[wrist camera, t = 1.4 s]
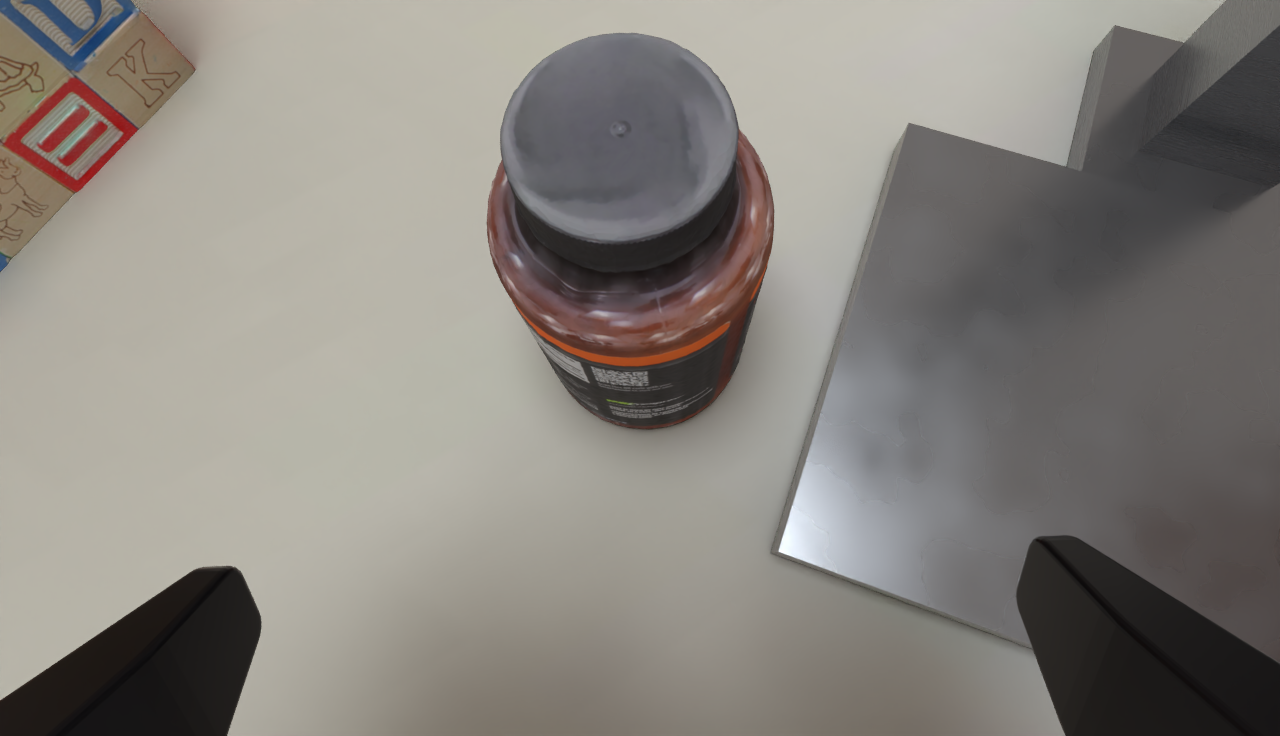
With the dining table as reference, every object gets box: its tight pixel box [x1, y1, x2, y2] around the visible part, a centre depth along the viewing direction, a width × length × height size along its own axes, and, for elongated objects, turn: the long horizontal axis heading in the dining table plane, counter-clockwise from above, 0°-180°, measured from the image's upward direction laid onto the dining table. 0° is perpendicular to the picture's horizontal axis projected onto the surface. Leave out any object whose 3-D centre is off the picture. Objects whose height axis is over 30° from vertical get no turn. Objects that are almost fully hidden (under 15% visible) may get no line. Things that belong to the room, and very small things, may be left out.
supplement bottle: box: [487, 33, 774, 429], centre depth 17 cm, size 6×6×11 cm
